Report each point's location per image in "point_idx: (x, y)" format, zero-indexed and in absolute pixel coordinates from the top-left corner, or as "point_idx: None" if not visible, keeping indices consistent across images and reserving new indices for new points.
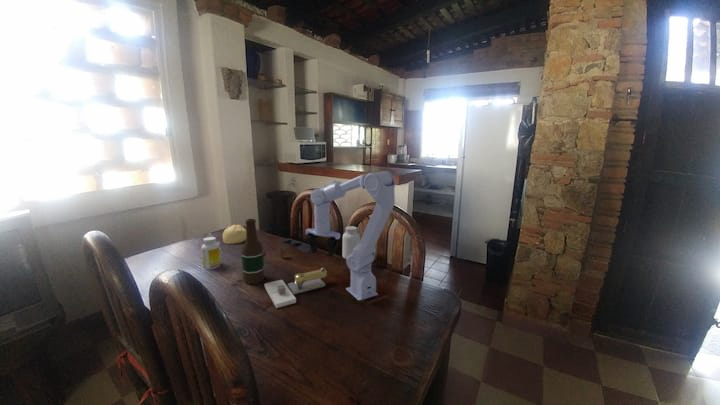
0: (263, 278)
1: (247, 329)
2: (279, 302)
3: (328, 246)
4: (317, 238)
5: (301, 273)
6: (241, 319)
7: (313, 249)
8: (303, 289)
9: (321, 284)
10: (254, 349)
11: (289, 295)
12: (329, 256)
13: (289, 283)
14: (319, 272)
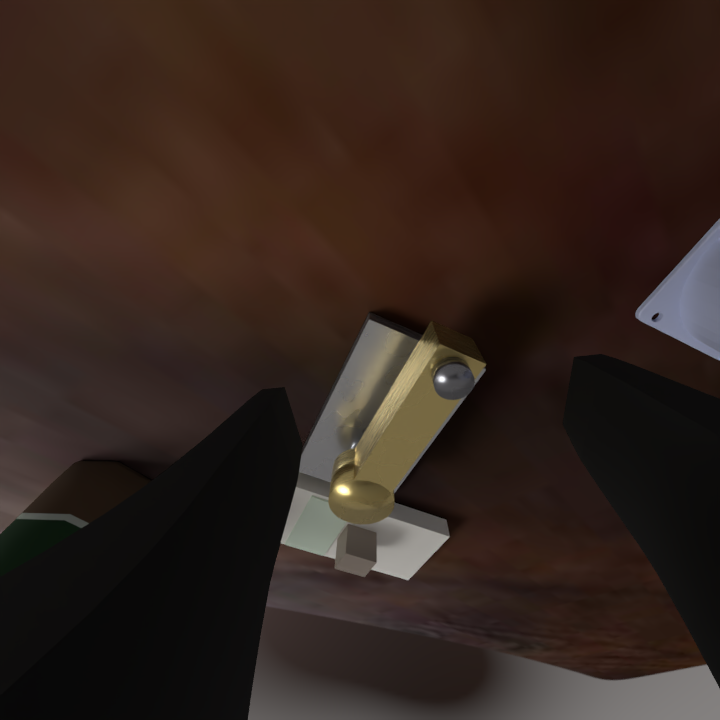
0: (141, 483)
1: (419, 629)
2: (410, 572)
3: (694, 632)
4: (138, 588)
5: (348, 483)
6: (364, 618)
7: (288, 499)
8: (411, 467)
9: None
10: (496, 649)
11: (404, 533)
12: (569, 426)
13: (300, 465)
14: (449, 413)
